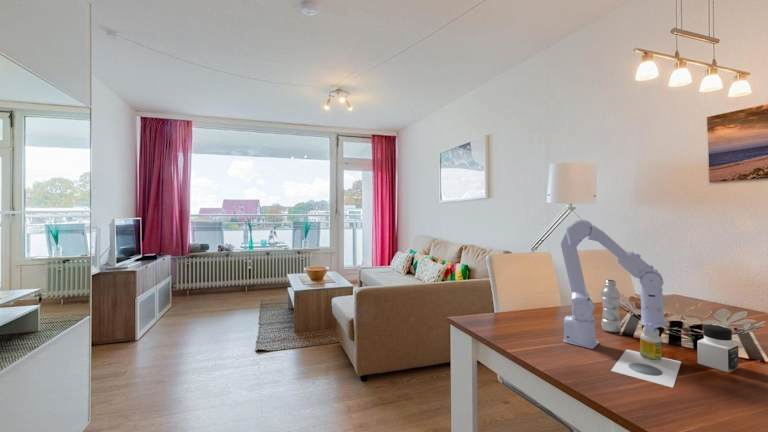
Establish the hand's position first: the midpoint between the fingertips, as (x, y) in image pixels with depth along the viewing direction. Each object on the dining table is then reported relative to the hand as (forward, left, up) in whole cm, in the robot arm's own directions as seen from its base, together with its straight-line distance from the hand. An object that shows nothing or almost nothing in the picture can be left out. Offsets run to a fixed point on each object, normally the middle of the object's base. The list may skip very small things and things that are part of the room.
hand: (653, 349), depth 108 cm
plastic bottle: (-15, +18, -3) cm, 24 cm away
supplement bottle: (0, -3, -2) cm, 4 cm away
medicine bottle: (+15, +5, -3) cm, 16 cm away
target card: (0, -10, -2) cm, 10 cm away
